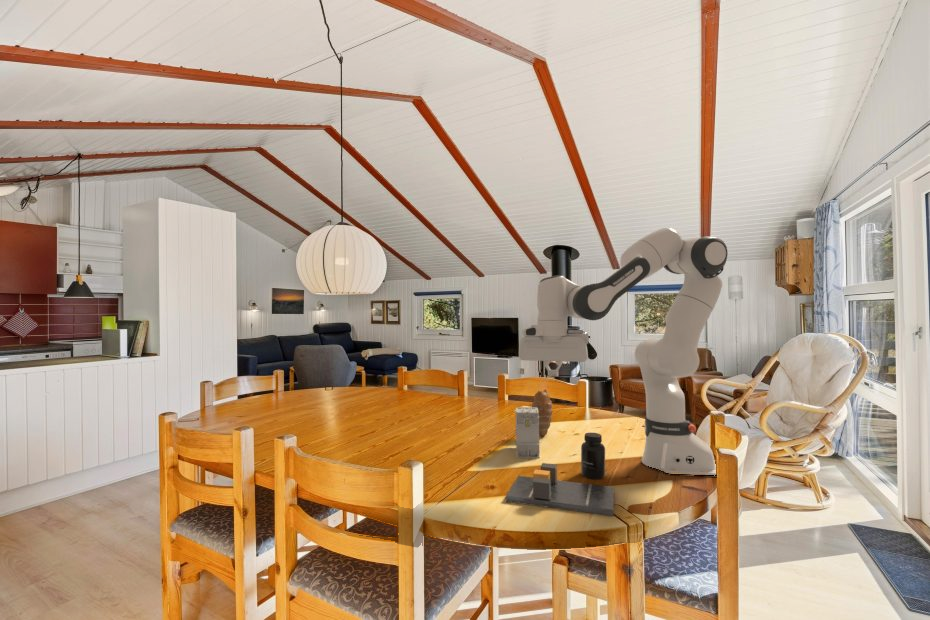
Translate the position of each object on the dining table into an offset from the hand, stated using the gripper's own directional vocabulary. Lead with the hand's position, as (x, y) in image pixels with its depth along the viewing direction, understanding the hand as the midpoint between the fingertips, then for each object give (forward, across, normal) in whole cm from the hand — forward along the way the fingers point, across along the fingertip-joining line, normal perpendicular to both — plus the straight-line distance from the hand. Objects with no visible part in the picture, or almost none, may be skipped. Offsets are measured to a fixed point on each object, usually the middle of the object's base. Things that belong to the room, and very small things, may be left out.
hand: (553, 376), depth 131 cm
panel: (+29, -4, +16) cm, 33 cm away
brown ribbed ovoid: (+29, +10, -37) cm, 48 cm away
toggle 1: (+27, 0, +10) cm, 29 cm away
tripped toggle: (+27, +1, +16) cm, 32 cm away
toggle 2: (+27, 0, +21) cm, 35 cm away
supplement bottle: (+29, -11, -2) cm, 31 cm away
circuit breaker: (+29, +12, -18) cm, 36 cm away
